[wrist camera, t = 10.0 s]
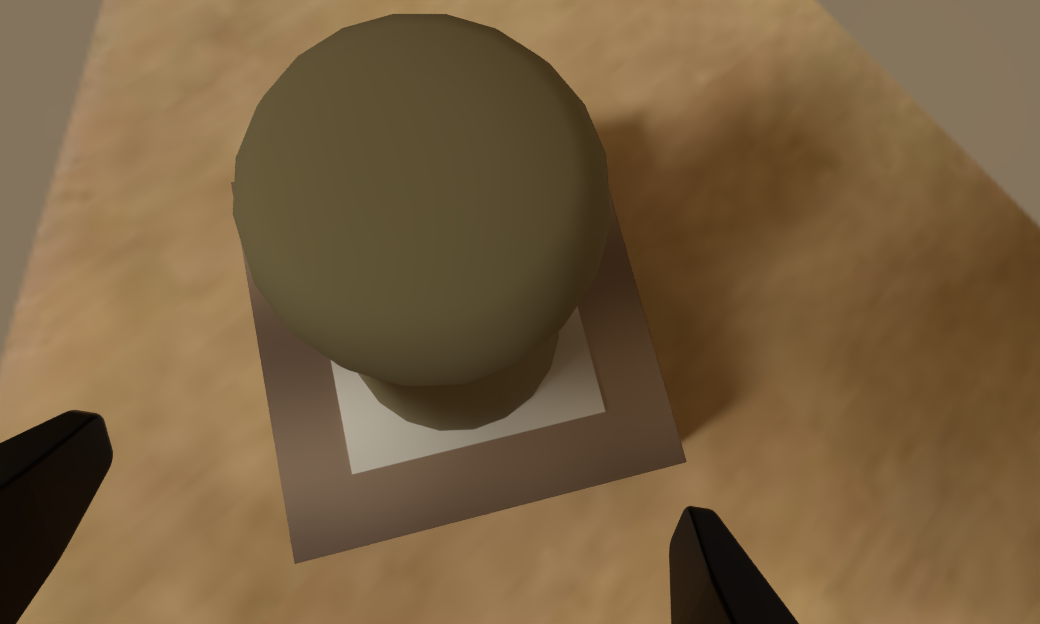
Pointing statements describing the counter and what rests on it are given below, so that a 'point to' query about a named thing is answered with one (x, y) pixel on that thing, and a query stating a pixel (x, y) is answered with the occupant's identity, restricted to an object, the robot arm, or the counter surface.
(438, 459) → the walnut plinth
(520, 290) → the olive green peg figure
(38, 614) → the counter surface
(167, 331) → the counter surface
